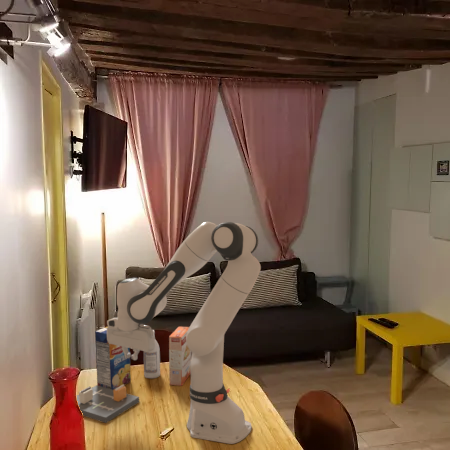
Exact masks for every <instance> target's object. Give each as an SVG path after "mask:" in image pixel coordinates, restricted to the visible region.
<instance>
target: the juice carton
mask: <svg viewBox="0 0 450 450" xmlns="http://www.w3.org/2000/svg"><path fill="white" fill-rule="evenodd" d="M107 327H108V326H105V327H103V328H100V329H97V330H95V331H94V332H95V333H94V334H95V335H94V336H95V355H96V356H95V357H96V359H95V361H96V380H97V381H96V382H97V383H96V385H98V386H101V387H105V388H108V389H112V390H114V389H116V388H118V387H119V386H121V385H124V386H125V385H127V384H129V383H131V380H132V379H131V357H130V358H129V359H128V358H125V355H124V352H123V350H122V346H118V345H113V344H109V343H108V341H107ZM130 349H131V348H128V351H129V353H131V351H130Z"/></svg>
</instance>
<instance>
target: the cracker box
mask: <svg viewBox="0 0 450 450" xmlns="http://www.w3.org/2000/svg"><path fill="white" fill-rule="evenodd" d="M189 327H190V326H178V327H177V328H176V329H175V330H174V331H172V333H171V334H170V335H169V337H168V341H169V342H168V348H169V349H168V359H169V363H168V364H169V365H168V367H169V369H168V370H169V371H168V372H169V374H168V377H169V385H170V386H179V387H182V386H183V385H184V384H185V382H186V381H187V379H188V378H189V376H191V357H192V352H191V351H190V350H189V348H188V346H187V343H186V336H187V331H188V329H189Z"/></svg>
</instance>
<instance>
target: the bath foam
mask: <svg viewBox="0 0 450 450" xmlns="http://www.w3.org/2000/svg"><path fill="white" fill-rule="evenodd" d="M155 334H156V332H155V329H153V335H154V342H155V347H154V349H153V350H151V351H149V352H146V351H142V352H143V375H144V378H146V379H156V378H158V377H160V376H161V351H160V345H159V343H158V341H157V340H156V337H155Z"/></svg>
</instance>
